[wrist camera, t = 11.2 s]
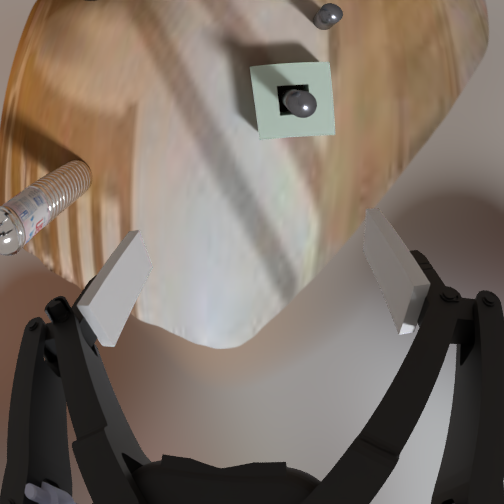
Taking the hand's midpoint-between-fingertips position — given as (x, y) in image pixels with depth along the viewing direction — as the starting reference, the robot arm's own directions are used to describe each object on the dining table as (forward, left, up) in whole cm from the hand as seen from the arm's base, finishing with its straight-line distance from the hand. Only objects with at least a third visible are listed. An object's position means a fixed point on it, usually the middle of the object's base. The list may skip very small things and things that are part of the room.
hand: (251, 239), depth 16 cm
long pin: (-6, +5, -29) cm, 30 cm away
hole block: (-6, +5, -29) cm, 30 cm away
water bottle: (0, -33, -29) cm, 44 cm away
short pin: (-18, +11, -29) cm, 36 cm away
